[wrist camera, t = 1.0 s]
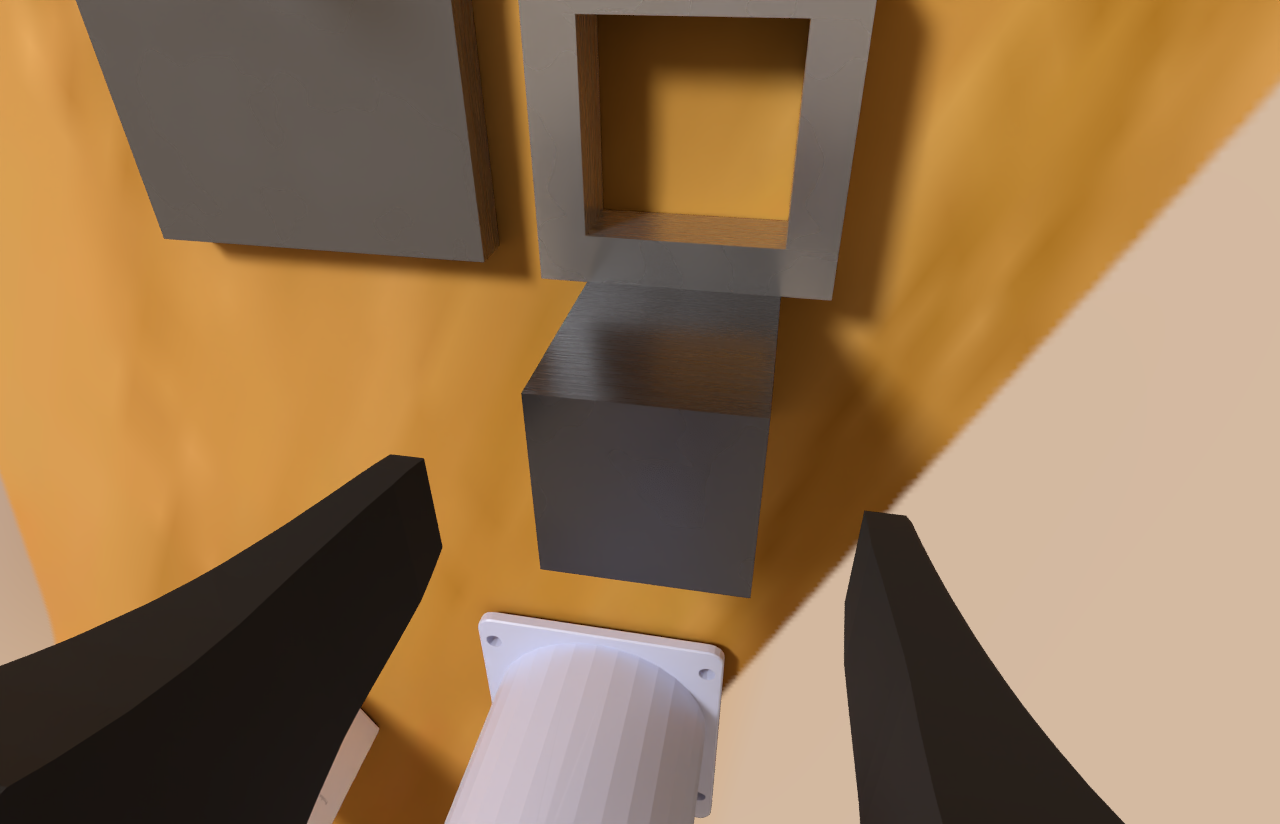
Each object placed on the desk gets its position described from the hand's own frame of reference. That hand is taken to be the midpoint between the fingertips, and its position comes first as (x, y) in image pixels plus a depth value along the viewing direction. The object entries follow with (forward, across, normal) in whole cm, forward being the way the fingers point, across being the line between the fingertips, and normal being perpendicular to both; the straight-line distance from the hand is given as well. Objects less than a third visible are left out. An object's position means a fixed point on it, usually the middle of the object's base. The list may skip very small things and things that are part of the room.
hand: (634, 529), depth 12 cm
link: (+7, 0, -3) cm, 7 cm away
